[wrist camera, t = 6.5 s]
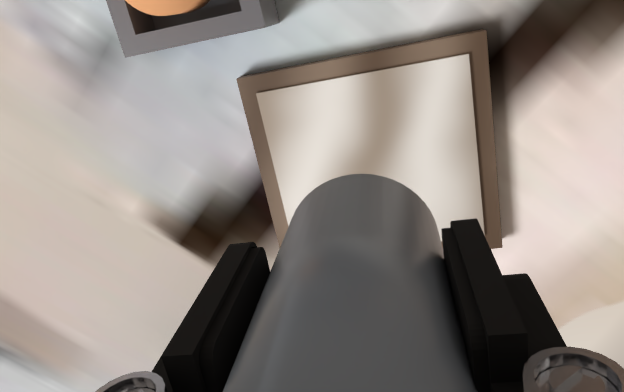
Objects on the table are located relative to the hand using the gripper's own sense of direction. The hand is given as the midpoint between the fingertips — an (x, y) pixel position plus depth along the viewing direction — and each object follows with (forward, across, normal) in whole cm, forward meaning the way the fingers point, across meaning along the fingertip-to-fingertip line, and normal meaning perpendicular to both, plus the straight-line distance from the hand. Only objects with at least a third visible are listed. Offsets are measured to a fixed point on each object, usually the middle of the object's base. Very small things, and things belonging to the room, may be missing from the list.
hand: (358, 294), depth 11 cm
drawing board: (+20, 0, +3) cm, 20 cm away
